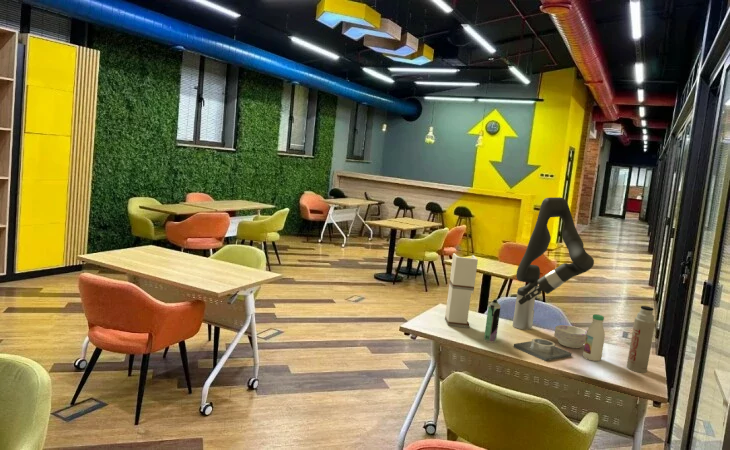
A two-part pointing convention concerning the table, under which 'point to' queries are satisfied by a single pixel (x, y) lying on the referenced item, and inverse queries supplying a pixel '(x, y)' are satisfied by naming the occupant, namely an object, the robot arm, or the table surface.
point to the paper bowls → (570, 336)
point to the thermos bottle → (641, 340)
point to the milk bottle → (594, 339)
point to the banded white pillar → (460, 290)
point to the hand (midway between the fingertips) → (521, 301)
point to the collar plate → (542, 354)
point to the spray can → (492, 322)
